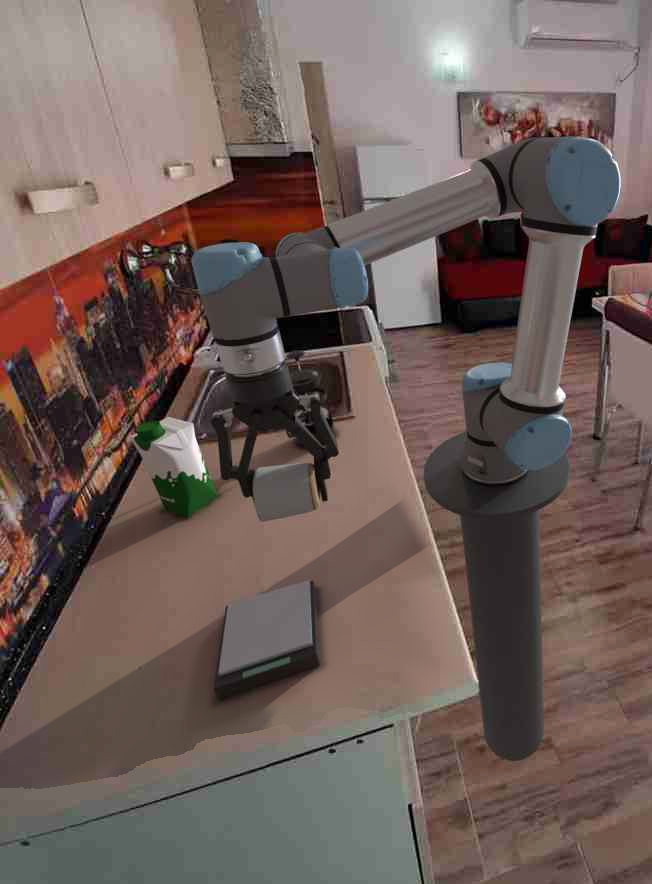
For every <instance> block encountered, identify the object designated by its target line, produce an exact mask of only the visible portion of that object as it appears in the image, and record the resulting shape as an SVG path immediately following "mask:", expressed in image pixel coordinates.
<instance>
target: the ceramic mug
mask: <svg viewBox="0 0 652 884" xmlns="http://www.w3.org/2000/svg"><path fill="white" fill-rule="evenodd" d="M253 498H254V502H253V505H254V504H255V505H254V508H255V512H256V516H257V518H258V520H259V521H260V523H261V522H262V523H263V522H264V523H265V522H269V521H270V522H271V521H273V520H279V519H284V518H288V517H293V516H298V515H299V516H300V515H303V514H308V513H311V512H313V511H316V510H317V509H318V508H319V507H320V504H321V493H320V489H319V485H318V481H317V477H316V473H315V469H314V463H311V462H297V463H296V462H295V463H290V464H280V465H271V466H261V467H257V468H256V469H255V473H254V478H253Z"/></svg>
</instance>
